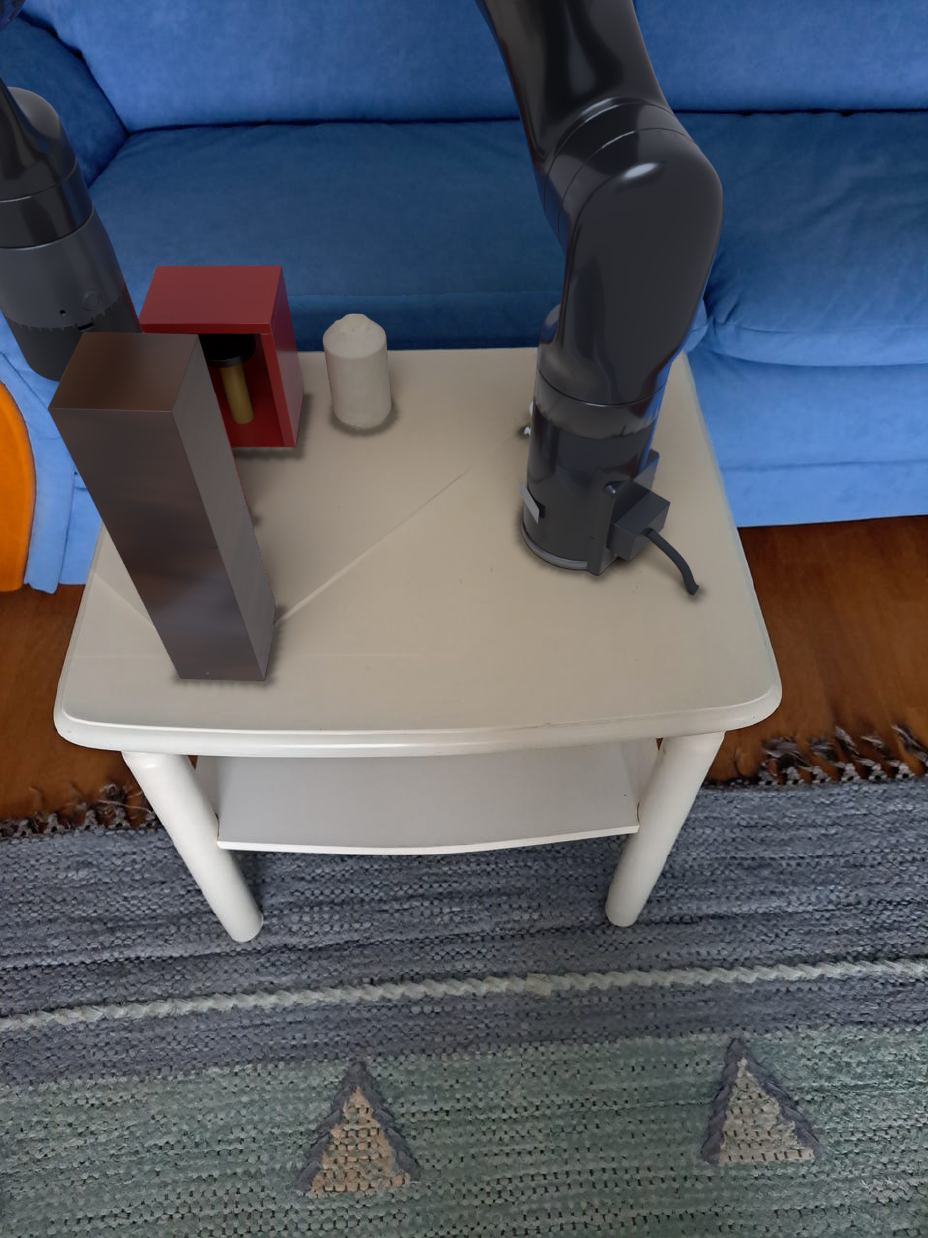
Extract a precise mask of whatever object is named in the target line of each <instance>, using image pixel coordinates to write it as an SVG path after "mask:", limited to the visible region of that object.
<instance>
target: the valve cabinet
mask: <svg viewBox="0 0 928 1238" xmlns="http://www.w3.org/2000/svg"><path fill="white" fill-rule="evenodd" d="M288 298H289V297H288V293H287V288H286V282H285V277H284V271H283V266H282V265H278V264H277V265H275V264H274V265H156V266H155V269H154V272H153V274H152V278H151V280H150V283H149V286H148V289H147V292H146V295H145V298H144V300H143V303H142V306H141V309H140V312H139V315H138V320H139V322H140V325H141V328H142V331H143V332H144V333H157V334H196V335H198V334H254V337H255V342H256V350H255V352H254V354H253V355H252V357H251V358H249V359H248V360H247V361H245V362H244V363H242V368H243V372H244V376H245V380H246V384H247V388H248V392H249V396H250V400H251V404H252V408H253V412H254V418H253V420H252V421H251V422H249V423H246V424H238V423H236V422H234V420H233V418H232V415H231V411H230V407H229V404H228V400H227V396H226V393H225V389H224V385H223V382H222V378H221V374H220V371H219V368H214V367H210V366H207V368H208V371H209V375H210V378H211V382H212V385H213V389H214V392H215V393H216V397H217V400H218V404H219V407H220V411H221V414H222V418H223V421H224V425H225V428H226V432H227V435H228V439H229V442H230V446H231V448H296V446H297V441H298V432H299V426H300V421H301V412H302V407H303V406H302V405H303V399H304V398H303V397H304V392H305V386H304V381H303V375H302V371H301V370H302V369H301V365H300V359H299V353H298V348H297V347H298V346H297V343H296V337H295V332H294V326H293V321H292V313H291V310H290V304H289V299H288Z"/></svg>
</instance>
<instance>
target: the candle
mask: <svg viewBox="0 0 928 1238" xmlns="http://www.w3.org/2000/svg"><path fill="white" fill-rule="evenodd" d="M322 344H323V350H324V351H323V352H324V358H325V364H326V371H327V376H328V377H327V378H328V384H329V390H330V398H331V404H332V410H333V413H334V415H335V417H336V418H338V420H340V421H341V422H342V423H345V424H347V425H352V426H359V427H360V426H361V427H362V426H370V425H374V424H376V423H378V422H380V421H383V420H384V419H385V418H386V417H387V416H388V415H389V414H390V412H391V410H392V394H391V393H392V392H391V382H390V370H389V359H388V344H387V334H386V331H385V330H384V328H383V327H382V326H381V325H379V324H378V323H377V322H376V321H373V320H372V319H371V318H369V317H368V316H367V315H365V314H363V313H348V314H345V315H344V316H342V318H341V319H340V318H339V319H337V320H335V321H334V322H333V324H331V325H329V327H328V328H327V329H326V330H325V332H324V334H323V336H322Z"/></svg>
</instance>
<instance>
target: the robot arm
mask: <svg viewBox="0 0 928 1238" xmlns="http://www.w3.org/2000/svg"><path fill="white" fill-rule="evenodd" d="M26 1H27V0H0V33H1V32H3V31H4V30H6V28H7V27H8V26H9V25H10V24H11V23H12V22H13V21H14V20H15V19H16V17H18V15H19V14H20V12H21V11H22V10H23V7H24V6H25V4H26ZM473 1H474V3H475V5H476V7H477V8H478V10H479V12H480V14H481V16H482V17H483V20H484V21H485V23H486V25H487V27H488V29H489V31H490V33H491V35H492V38H493V40H494V42H495V44H496V47H497V50H498V52H499V55H500V57H501V59H502V62H503V66H504V69H505V72H506V74H507V75H506V76H507V78H508V81H509V84H510V88H511V91H512V95H513V98H514V102H515V105H516V109H517V112H518V116H519V119H520V124H521V126H522V130H523V133H524V134H523V135H524V139H525V142H526V147H527V151H528V154H529V159H530V163H531V167H532V168H531V169H532V171H533V176H534V180H535V181H534V182H535V185H536V188H537V193H538V197H539V201H540V204H541V208H542V211H543V214H544V216H545V218H546V220H547V222H548V225H549V227H550V229H551V231H552V232H553V234H554V236H555V238H556V240H557V242H558V245H559V246H560V248H561V250H562V253H563V255H564V272H563V280H562V288H561V289H562V290H561V296H560V302H558V303H557V304H555V305H554V306H553V307H552V308H551V309H550V310H549V311H548V312H547V313H546V314H545V316H544V318H543V320H542V322H541V324H540V329H539V333H538V340H537V351H536V352H537V353H536V365H535V366H536V367H535V378H534V388H533V396H532V397H533V399H532V401H533V408H532V417H531V419H530V420H531V421H530V428H531V430H530V436H529V441H528V452H527V453H528V454H527V465H526V475H525V484H524V482H523V481H522V478H519V483H518V484H519V486H518V493H519V494H520V497H522V499H523V508H522V511H521V520H520V529H521V534H522V537H523V540H524V541H525V543H526V545H527V546H528V547H529V548H530V550H531V551H532V552H533V553H534V554H536V555H537V556H538V557H539V558H541V560H544V561H546V562H547V563H549V564H552V565H554V566H557V567H561V568H565V569H570V570H586V571H588V572H590V573H592V574H593V575H595V576H599V575H601V574H602V573H603V572H604V571H605V570H606V569H607V568H608V567H609V566H610V565H611V564H612V563H613V562H614V561H615V560H617V559H619V558H621V559H623V560H624V561H626V562H627V563H629V562H631V560H633V558H635V557H636V556H637V555H638V554H639V553H640V552H641V551H642V550H643V549H644V548H645V547H646V546H647V545H648V544H649V543H650V542H651V543H653V544H654V545H655V546H656V547H657V548H658V549H659V550H660V551H661V552H663V553H664V554H665V556H667V557H668V558H669V559H670V560H671V562H672V563H673V564H674V565H675V567H676V568H677V569H678V571H679V572H680V575H681V577H682V580H683V583H684V585H685V587H686V589H687V591H688V592H689V593H691V594H692V595H695V594H696V593H697V592H698V589H699V587H700V585H699V584H697V582H696V581H695V578H694V575H693V572H692V569H691V567H690V566H689V564H688V562H687V561H686V559H685V558H684V557H683V556H682V555H681V553H679V551H678V550H677V549H676V548H675V547H673V545H672V544H671V543H669V542H668V541H667V540H666V539H665V538H664V537H663V536H662V535H660V534H659V533H660V532H661V531H662V530H663V529H664V527H665V524H666V520H667V517H668V514H669V510H670V507H671V501H669V500H668V499H666V498H664V497H662V496H661V495H659V494H658V493H655V492H654V491H653V490H652V489H653V486H654V481H655V478H656V473H657V470H658V466H659V462H660V457H661V455H660V452H659V451H657V450H656V449H654V448H652V446H653V445H652V444H653V441H654V437H655V433H656V429H657V425H658V420H659V416H660V413H661V408H662V403H663V401H664V400H663V399H664V396H665V391H666V388H667V383H668V378H669V375H670V372H671V368H672V364H673V362H674V361H676V359H677V358H678V357H679V355H680V354H681V352H683V349H684V348H685V346H686V345H687V343H688V341H689V340H690V337H691V335H692V332H693V330H694V327H695V325H696V321H697V317H698V315H699V311H700V307H701V305H702V302H703V298H704V295H705V293H706V289H707V285H708V282H709V279H710V276H711V272H712V269H713V266H714V263H715V259H716V256H717V252H718V248H719V245H720V241H721V237H722V230H723V223H724V215H725V197H724V195H725V193H724V188H723V185H722V181H721V179H720V176H719V175H718V172H717V170H716V168H715V167H714V166H713V164H712V163H711V161H710V160H709V158H708V157H707V156H706V155H705V153H704V152H703V150H702V149H701V148H700V146H699V145H698V144H697V142H696V141H695V140H694V139H693V137H692V136H691V134H690V133H689V132H688V130H687V129H686V128H685V127H684V125H683V124H682V123H681V121H680V120H679V119H678V117H677V116H676V115H675V113H674V112H673V110H672V109H671V107H670V105H669V103H668V101H667V99H666V97H665V95H664V92H663V91H662V88H661V86H660V83H659V80H658V78H657V76H656V73H655V70H654V67H653V64H652V62H651V60H650V56H649V53H648V50H647V46H646V43H645V41H644V36H643V33H642V31H641V27H640V24H639V21H638V18H637V14H636V11H635V6H634V3H633V0H473ZM124 277H125V276H124V274H123V271H122V269H121V266H120V262H119V260H118V257H117V254H116V251H115V249H114V245H113V243H112V240H111V238H110V235H109V234H108V231H107V229H106V228H105V225H104V223H103V221H102V220H101V217H100V216H99V214H98V211H97V209H96V207H95V204H94V203H93V199H92V197H91V194H90V191H89V189H88V186H87V183H86V180H85V178H84V174H83V172H82V169H81V166H80V164H79V160H78V158H77V154H76V152H75V149H74V146H73V143H72V141H71V139H70V136H69V133H68V131H67V129H66V127H65V125H64V123H63V121H62V119H61V117H60V115H59V114H58V112H57V111H56V109H55V108H54V107H53V105H52V104H51V103H49V102H48V100H46V99H45V98H44V97H42V96H40V95H39V94H37V93H35V92H34V91H31V90H27V89H26V88H25V89H24V88H22V87H16V86H7V84H6V82H5V81H4V79H3V77H2V75H1V74H0V312H1V314H2V316H3V318H4V320H5V322H6V324H7V326H8V328H9V330H10V331H11V334H12V336H13V338H14V339H15V342H16V344H17V346H18V348H19V350H20V352H21V354H22V356H23V358H24V360H25V362H26V364H27V365H28V367H29V369H31V370H32V371H34V372H35V373H36V374H37V375H38V376H40V377H41V378H44V379H47V380H49V381H52V382H56V383H60V380H61V378H62V376H63V374H64V372H65V370H66V368H67V366H68V364H69V361H70V359H71V357H72V355H73V353H74V351H75V349H76V347H77V344H78V342H79V340H80V338H81V336H82V334H83V332H117V333H143V332H142V328H141V325H140V322H139V320H138V318H139V316H138V314H137V311H136V308H135V305H134V303H133V300H132V297H131V294H130V291H129V288H128V286H127V283H126V281H125V280H126V279H125V278H124Z"/></svg>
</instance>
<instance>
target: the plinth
mask: <svg viewBox="0 0 928 1238" xmlns="http://www.w3.org/2000/svg"><path fill="white" fill-rule="evenodd" d="M47 412H48V413H49V416H50V418H51V420H52V421H53V423H54V425H55V427H56V429H57V431H58V434H59V435H60V437H61V439H62V442H63V443H64V446H65V447H66V450H67V452H68V454H69V456H70V458H71V460H72V462H73V464H74V466H75V468H76V470H77V472H78V475H79V476H80V479H81V481H82V482H83V484H84V486H85V488H86V490H87V492H88V495H89V496H90V499H91V500H92V502H93V505H94V506H95V509H96V511H97V513H98V514H99V515H98V516H99V517H100V519H101V521H102V523H103V525H104V527H105V529H106V531H107V534H108V535H109V537H110V540H111V541H112V543H113V545H114V547H115V549H116V551H117V553H118V556H119V557H120V560H121V561H122V564H123V565H124V568H125V569H126V572H127V574H128V576H129V578H130V579H131V582H132V584H133V586H134V588H135V590H136V592H137V594H138V596H139V598H140V600H141V602H142V604H143V606H144V609H145V610H146V612H147V613H148V616H149V618H150V620H151V622H152V624H153V626H154V629H155V630H156V632H157V634H158V637H159V639H160V641H161V643H162V645H163V646H164V649H165V651H166V653H167V655H168V657H169V659H170V661H171V663H172V665H173V667H174V669H175V671H176V673H177V675H178V677H179V678H180V679H189V680H190V679H191V680H192V679H193V680H194V679H195V680H221V681H250V682H251V681H253V682H254V681H255V682H265V679H266V673H267V670H268V663H269V659H270V654H271V653H270V652H271V648H272V643H273V638H274V633H275V629H276V628H275V627H276V623H277V620H275V621H274V617H275V614H276V613H275V610H276V608H277V607H276V606H277V605H276V602H275V599H274V596H273V592H272V589H271V585H270V582H269V578H268V575H267V570H266V567H265V564H264V561H263V557H262V554H261V549H260V546H259V543H258V539H257V536H256V533H255V530H254V526H253V521H252V518H251V514H249V512H250V510H249V511H248V509H249V507H248V508H247V505H248V503H247V504H246V502H247V500H246V501H245V498H246V496H245V497H244V495H245V493H244V494H243V491H244V489H243V490H242V488H243V486H242V487H241V484H242V482H241V483H240V481H241V479H240V480H239V477H240V475H239V476H238V474H239V472H238V473H237V470H238V468H237V469H236V467H237V465H236V466H235V463H236V461H235V462H234V460H235V458H234V459H233V456H234V454H233V455H232V453H233V451H232V452H231V449H232V447H231V448H230V445H229V441H228V438H227V434H226V431H225V427H224V424H223V420H222V417H221V413H220V410H219V406H218V403H217V399H216V396H215V392H214V389H213V385H212V382H211V378H210V375H209V371H208V368H207V364H206V361H205V358H204V354H203V351H202V347H201V344H200V340H199V337H198V335H196V334H157V333H117V332H83V334H82V336H81V338H80V340H79V342H78V344H77V347H76V349H75V351H74V353H73V355H72V357H71V359H70V361H69V364H68V366H67V368H66V370H65V372H64V374H63V376H62V378H61V380H60V382H58V385H57V387H56V389H55V391H54V393H53V395H52V398H51V400H50V402H49V404H48V406H47Z"/></svg>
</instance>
